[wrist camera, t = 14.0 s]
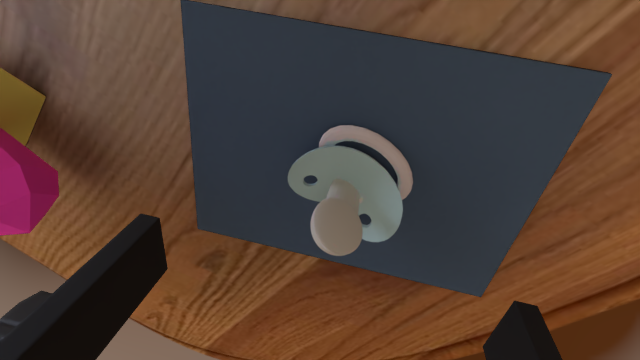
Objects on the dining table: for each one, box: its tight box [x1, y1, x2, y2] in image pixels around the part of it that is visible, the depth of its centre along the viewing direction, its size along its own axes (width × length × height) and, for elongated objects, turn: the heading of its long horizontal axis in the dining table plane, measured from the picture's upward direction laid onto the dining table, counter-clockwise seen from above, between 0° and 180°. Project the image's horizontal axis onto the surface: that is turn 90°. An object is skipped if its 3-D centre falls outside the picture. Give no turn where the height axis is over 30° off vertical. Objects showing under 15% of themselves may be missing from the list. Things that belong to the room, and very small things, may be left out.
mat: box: [181, 0, 612, 297], centre depth 21 cm, size 22×16×1 cm
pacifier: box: [288, 125, 413, 256], centre depth 18 cm, size 7×6×6 cm
